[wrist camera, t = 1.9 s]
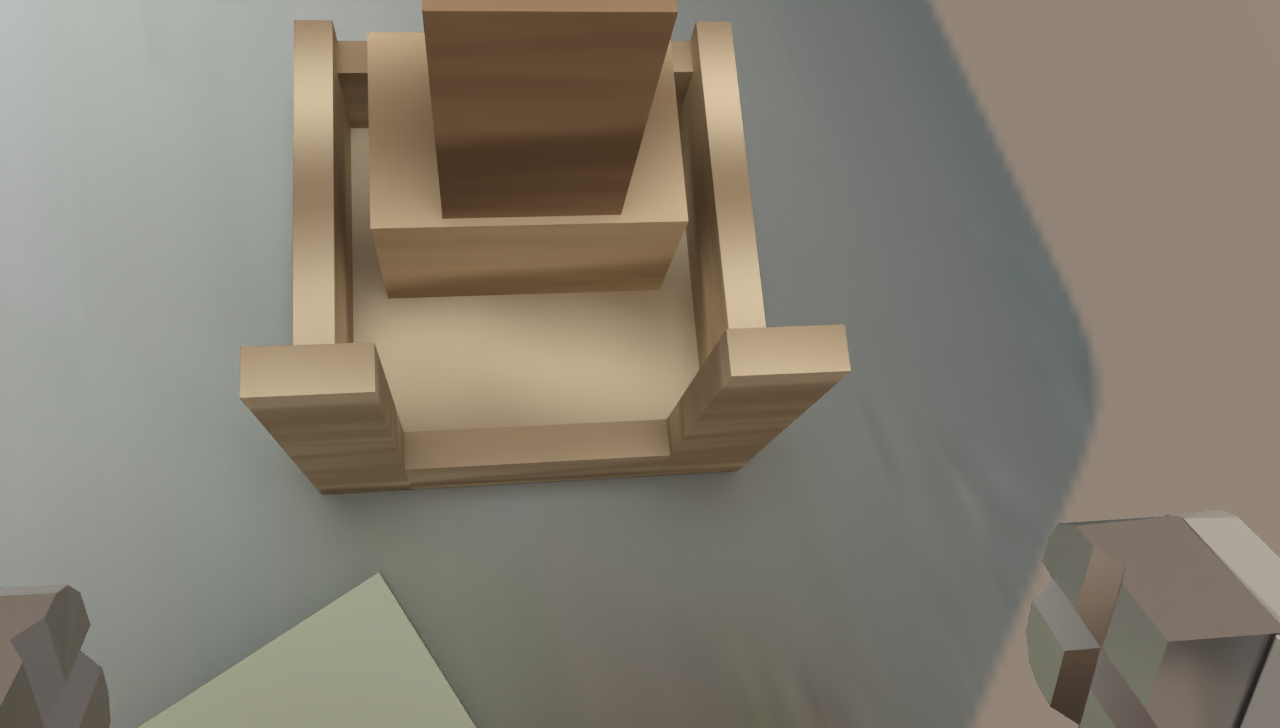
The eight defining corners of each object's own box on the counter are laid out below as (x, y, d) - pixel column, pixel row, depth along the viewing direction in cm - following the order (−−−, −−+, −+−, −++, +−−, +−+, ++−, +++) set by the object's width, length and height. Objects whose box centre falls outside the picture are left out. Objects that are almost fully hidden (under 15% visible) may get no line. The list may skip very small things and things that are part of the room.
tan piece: (737, 471, 33) (850, 370, 23) (322, 494, 32) (239, 397, 21) (699, 108, 37) (783, -125, 26) (320, 111, 35) (248, -137, 24)
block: (621, 214, 29) (677, 12, 20) (442, 218, 28) (422, 10, 19) (608, 58, 30) (656, -196, 21) (436, 58, 29) (415, -204, 21)
